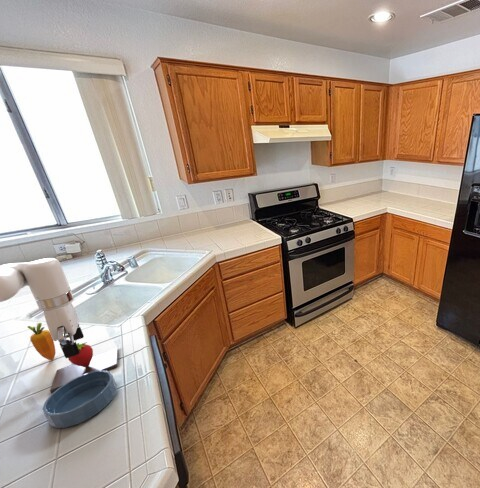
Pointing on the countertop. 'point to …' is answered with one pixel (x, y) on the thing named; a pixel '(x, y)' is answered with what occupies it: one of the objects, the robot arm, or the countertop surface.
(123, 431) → the countertop surface
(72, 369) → the board
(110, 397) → the basin
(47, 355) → the carrot
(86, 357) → the strawberry
